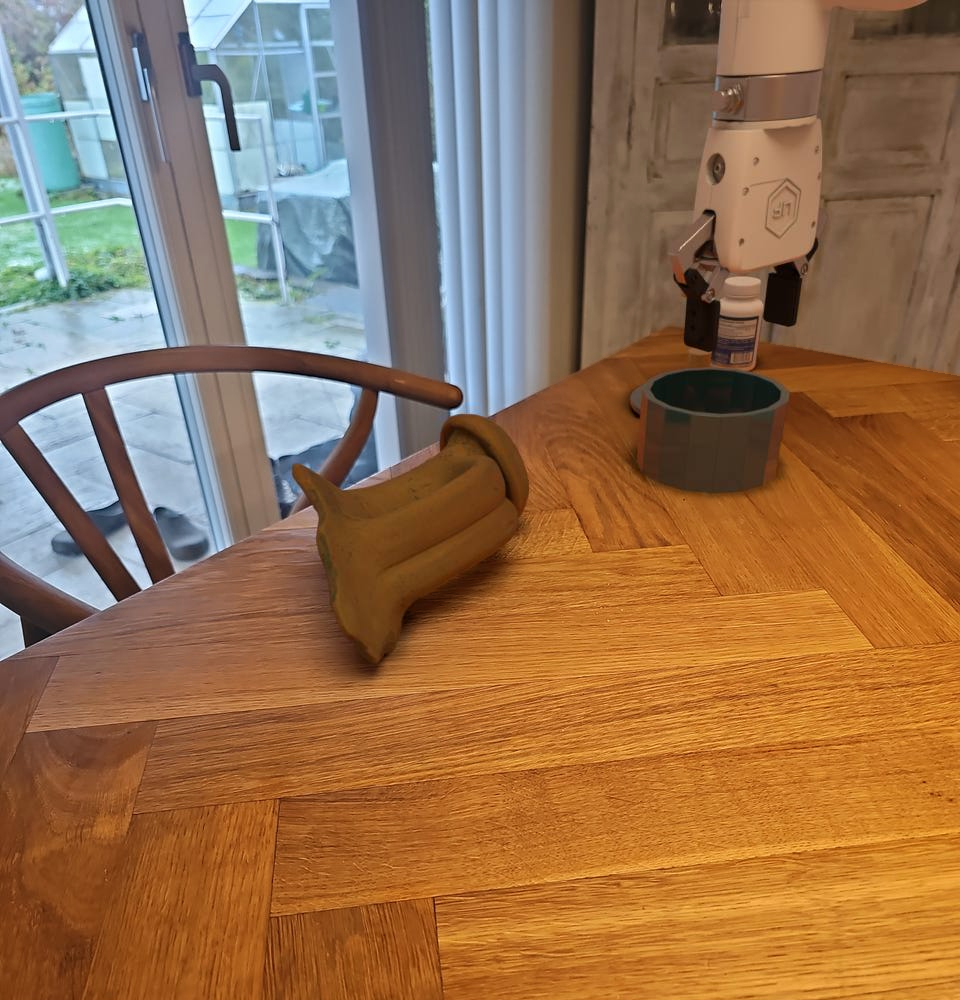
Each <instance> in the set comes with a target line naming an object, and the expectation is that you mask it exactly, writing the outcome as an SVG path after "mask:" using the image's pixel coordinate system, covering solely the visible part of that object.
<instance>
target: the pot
mask: <svg viewBox="0 0 960 1000" xmlns="http://www.w3.org/2000/svg"><path fill="white" fill-rule="evenodd" d="M643 385H644V387H643V389H642V398H641V411H640V414H639V425H638V439H637V452H636V464H637V466H638V467H639V469H640V471H641V473H642V474H644V475H645V476H646V477H648V478H650V479H652V480H653V481H654V482H656V483H657V484H661V485H664V486H668V487H671V488H674V489H677V490H680V491H685V492H693V493H694V492H695V493H704V494H725V493H727V494H728V493H740V492H745V491H748V490H752V489H755V488H758V487H762V486H764V485H766V484H767V483H768V482H769V481H771V480H772V479H773V478H775V477H776V474H777V467H778V461H779V456H780V452H781V451H780V450H781V445H782V440H783V433H784V427H785V421H786V416H787V412H788V411H787V410H788V405H789V398H790V391H789V389H787V387H785V385H784V384H782V383H781V382H780V381H779V380H776V379H774V378H771V377H769V376H766V375H764V374H761V373H758V372H754V371H744V370H739V369H729V368H715V367H711V366H710V367H702V368H686V367H685V368H679V369H674V370H670V371H666V372H665V371H664V372H661V373H658V374H657V375H654V376H653V377H651V378H649V379H647V380H646V382H645V384H643Z"/></svg>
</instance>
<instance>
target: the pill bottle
mask: <svg viewBox="0 0 960 1000" xmlns="http://www.w3.org/2000/svg"><path fill="white" fill-rule="evenodd" d="M761 285H762V281H761V279H760V278H757V277H754V276H753V277H751V276H732V277H731V276H730V277H727V278H726V280H725V282H724V283H723V291H722V293H723V295H724V297H722V298H721V299H720V300H719V299H718V301H721V303H720V304H721V308H720V319H719V330H718V340H717V347H716V349H715V350H714V351H712V354H711V362H710V367H715V368H729V369H739V370H744V371H748V372H751V371H752V370H753V369H754V368H755V367H756V364H757V359H758V358H757V357H758V352H759V345H760V338H761V330H762V323H763V313H764V302H762V301H761V300H760V299H759V298H758V296H759V295H760V293H761Z"/></svg>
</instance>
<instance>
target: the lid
mask: <svg viewBox="0 0 960 1000" xmlns="http://www.w3.org/2000/svg"><path fill="white" fill-rule="evenodd" d="M711 354H712V351H711V352H706V351H702V350H699V349H696V348H692V347H691V348H690V349H688V350H687V356H686V365H685V368H702V367H711V366H710V362H711ZM644 385H645V384H643V385H640V386H638V387H636V388H635V389H634V390H633V391H632V392H631V394H630V401H629V402H630V403H629V404H630V407H631V408H632V410H633V411H634V412H636V413H637V415H640V411H641V398H642V389H643V387H644Z"/></svg>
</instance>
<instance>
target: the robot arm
mask: <svg viewBox="0 0 960 1000" xmlns="http://www.w3.org/2000/svg"><path fill="white" fill-rule="evenodd" d="M927 1H928V0H721V6H720V19H719V32H718V47H717V56H716V57H717V59H716V60H717V61H716V72H715V73H716V76H715V82H714V84H715V85H714V92H713V93H712V94H711V96H710V101H709V104H710V108H711V110H712V122H711V127H709V128H708V131H707V135H706V139H705V143H704V147H703V152H702V156H701V162H700V165H699V166H700V167H699V172H698V179H697V183H696V185H697V186H696V191H695V198H694V206H693V214H692V224H691V225H690V226H689V227H687V228H686V230H684V231H683V232H682V233H681V234H680V235H679V236H678V237H677V238H676V239H675V240H674V241H673V242H672V243H671V244H670V245H669V246H668V247H667V251H666V253H667V257H668V261H669V264H670V267H671V270H672V273H673V275H672V278H673V281H674V282H675V284H676V285H677V287H678V288H679V289H680V295H681V297H683V298H686V301H685V314H684V315H685V317H684V331H683V343H684V345H685V346H686V347H689V348H691V349H692V348H696V349H699V350H702V351H706V352H711V351H714V350H715V349H716V347H717V340H718V330H719V319H720V308H721V304H720V303H721V301H719V300H717V299H716V297H717V296H718V294H719V293H720V290H721V289H722V287H723V286H724V283H725V280H726V279H728V277H729V275H730V273H732V274H735V275H745V274H749V273H753V272H758V271H761V270H765V269H769V268H773V270H774V271H772V272H768V275H767V282H766V288H765V297H764V303H763V306H764V310H763V318H762V320H764V321H765V322H766V323H771V324H775V325H779V326H783V327H787V328H791V327H794V326H796V325H797V321H798V315H799V314H798V313H799V306H800V302H801V301H800V300H801V293H802V286H803V278H804V277H806V276H807V275H808V273H809V271H810V261H811V259H812V258H813V256H814V255H815V253H816V252H817V250H818V248H819V240H820V238H821V236H822V234H823V232H824V228H825V227H826V224H827V222H828V218H829V216H828V213H827V212H826V210H824V209H822V208H820V199H821V190H822V189H821V187H822V186H821V185H822V172H823V129H822V119H821V118H818V117H817V116H818V111H819V103H820V97H821V96H820V95H821V87H822V80H823V73H824V70H823V69H824V65H825V58H826V52H827V51H826V50H827V44H828V37H829V30H830V29H829V28H830V22H831V16H832V15H831V14H832V9H833V8H834V7H841V8H843V9H846V10H851V11H858V12H859V11H863V12H864V11H865V12H866V11H874V12H875V11H876V12H894V11H903V10H907V9H911V8H914V7H916V6H919V5H921V4H923V3H926V2H927ZM708 272H711V274H710V276H709V278H708V279H707V281H706V280H705V276H706V274H707V273H708Z"/></svg>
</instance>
